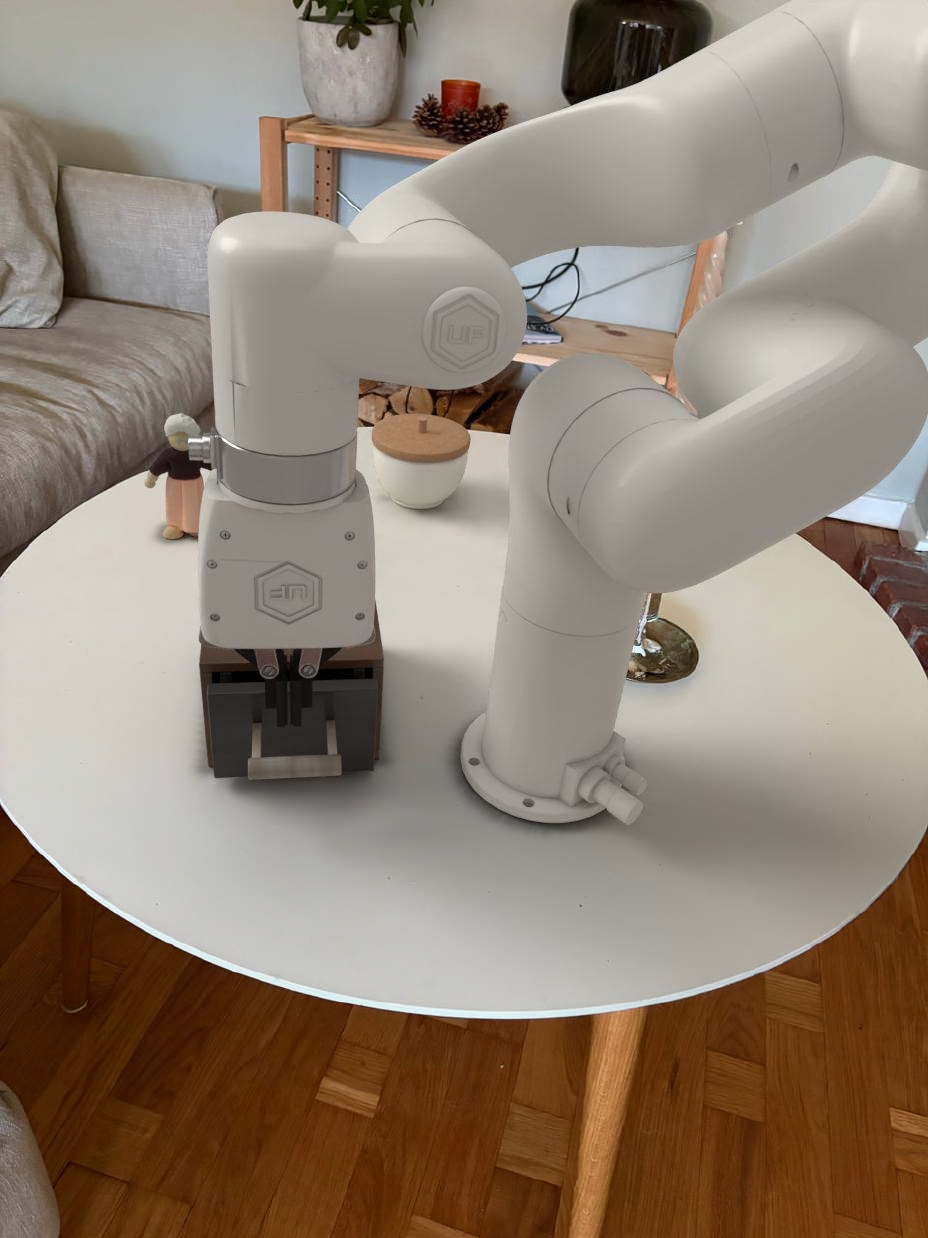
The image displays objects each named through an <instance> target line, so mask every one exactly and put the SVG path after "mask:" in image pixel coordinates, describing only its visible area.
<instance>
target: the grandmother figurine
mask: <svg viewBox="0 0 928 1238" xmlns="http://www.w3.org/2000/svg"><path fill="white" fill-rule="evenodd" d="M163 430H164V433H165V437H167V439H168V443H169V445H170V446H171V447H167V448H165V449H163V450H162V451H161V453H160V454H159V455H158V456H157V457H156V459H155V460H154V461H153V463H152V464H151V466H149V469H148V473H147V475H146V479H145V481H144V486H145V487H146V488H148V489H153V488H155V486H156V483H157V481H158V480H159V478H160V476H161V475H164V474H167V476H166V481H165V496H164V497H165V499H164V500H165V520H166V521H165V523H166V525H167V526H166V527H165V528H164V530H163V533H162V537H163V538H164V539H167V540H177V539H180V538H182V537H183V536H184V533H188V534H189V535H190V536H192V537H198V534H199V518H200V509H201V502H202V496H203V491H204V486H205V483H204V477H203V475H202V472H201V469H204V470H207V471H210V472H211V471H212V470H213V469H212V466H211V463H204V461H203V460H190V459H189V448H188V441H189V435H200V434H201V427H200V425H199V424H198V423H197V422H196V421H195V419H194V418H192V417H191V416H190V415H187V414H184V413H183V412H181V413H176V414H171V415H170V416H168V417H167V419H166V420H165V422H164V429H163ZM200 436H201V435H200Z"/></svg>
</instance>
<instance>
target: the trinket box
mask: <svg viewBox="0 0 928 1238" xmlns="http://www.w3.org/2000/svg"><path fill="white" fill-rule="evenodd" d="M471 440H472V439H471V435H470V432H469V431H468V430H467V428H466V427H464V426H463V425H462V424H460V423H458V422H456V421H454V420H452V419H450V418H446V417H443V416H440V415H434V414H429V413H428V414H427V413H401V414H395V415H391V416H387V417H385V418H382V419H381V420H378V421H377V422H376V423H375V424H374V426H373V427H372V429H371V442H372V449H371V450H372V452H371V453H372V465H373V470H374V474H375V476H376V479H377V481H378V483H379V485H380V486H381V488H382V490H383V491H384V492H385V493H387V495H388V496H390V499H391V500H392V502H394V503H395V504H396V505H398V506H401V507H403V508H407V509H412V510H429V509H433V508H437V507H439V506H440V505H442V504H443V502H444V501H445V500H446V499H447V498H449V497H450V496H452V495H453V493H454V492H455V491H456V490H457V489H458V487H459V486H460V484H461V482H462V480H463V477H464V475H465V472H466V468H467V464H468V458H469V450H470V446H471Z"/></svg>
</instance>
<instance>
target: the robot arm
mask: <svg viewBox="0 0 928 1238" xmlns="http://www.w3.org/2000/svg"><path fill="white" fill-rule="evenodd" d="M867 157H878V158H883V159H885V160H889V161H890V163H889V166H888V167H887V170H886V173H885V175H884V178H883V180H882V182H881V183H880V186H879V188H878V190H877V192H875V195H874V196H873V197H872V199H871V201H870V202H869V203H868V205H867V206H866V207H865V208H864V209H863V210H862V211H861V213H860V214H858V215H856V217H855V218H853V219H852V220H851V221H849V222H847V223H846V224H845V225H843V226H842V227H840V228H838V229H837V230H835V231H834V232H832V233H831V234H829V235H827V236H826V237H824V238H822V239H821V240H819V241H817V242H815V243H813V244H811V245H810V246H808V247H806V248H804V249H802V250H800V251H799V252H797V253H795V254H793V255H791V256H789V257H788V258H786V259H784V260H782V261H780V262H778V263H776V264H774V265H772V266H771V267H769V268H767V269H765V270H764V271H762V272H759V273H757V274H756V275H754V276H752V277H750V278H748V279H747V280H745V281H743V282H741V283H739V284H738V285H735V286H734V287H732V288H730V289H728V290H727V291H725V292H723V293H721V294H719V295H718V296H716V297H715V298H713V299H712V300H711V301H709V302H708V303H707V304H705V305H703V307H701V308H700V309H699V310H697V311H696V312H695V313H694V314H693V315H692V316H691V317H690V318H689V320H688V321H687V323H685V325H684V326H683V328H682V330H681V331H680V333H679V335H678V337H677V339H676V341H675V343H674V347H673V352H672V368H673V369H672V371H673V375H674V378H675V380H676V383H677V385H678V388H679V389H680V391H681V393H682V395H683V396H684V397H685V399H686V400H687V401H688V403H689V404H690V405H691V406H692V408H694V410H696V411H697V413H699V415H701V416H702V418H701V417H700V416H698V415H697V414H696V413H695V412H693V411H692V410H691V409H689V408H688V406H686V405H685V404H684V403H683V402H682V401H681V400H680V399H679V398H678V397H676V396H675V395H674V394H672V393H671V392H670V391H669V390H667V389H666V388H665V387H664V386H662V385H661V384H660V383H659V382H657V380H656V379H654V378H653V377H651V376H650V375H649V374H648V373H646V372H645V371H643V370H641V369H640V368H638V367H637V366H635V365H634V364H632V363H630V362H628V361H626V360H624V359H621V358H618V357H616V356H612V355H611V354H604V353H597V352H596V353H595V352H586V353H577V354H573V355H569V356H565V357H564V358H562V359H559V360H557V361H555V362H553V363H551V364H549V365H548V366H547V367H546V368H544V369H543V370H542V371H540V372H539V373H538V375H536V377H535V378H534V379H533V380H531V382H530V384H529V385H528V386H527V388H526V389H525V390H524V392H523V393H522V396H521V398H520V399H519V402H518V403H517V406H516V408H515V411H514V414H513V417H512V422H511V427H510V433H509V442H508V491H509V492H508V493H509V495H508V497H509V520H508V521H509V523H508V524H509V525H508V539H507V549H506V550H507V552H506V560H505V568H504V574H503V575H504V576H503V584H502V587H501V595H500V603H499V610H498V618H497V625H496V631H495V632H496V633H495V640H494V648H493V655H492V664H491V671H490V679H489V685H488V686H489V687H488V693H487V702H486V710H485V711H484V712H482V713H481V714H480V715H478V716H477V717H476V718H475V719H473V721H472V722H471V723H470V724H469V725H468V727H467V728H466V730H465V732H464V734H463V737H462V740H461V745H460V755H459V756H460V765H461V770H462V772H463V774H464V777H465V779H466V781H467V782H468V784H469V785H470V786H471V787H472V789H473V790H474V792H475V793H477V794H478V795H479V796H480V797H481V798H482V799H483V800H484V801H486V802H487V803H489V804H491V806H493V807H495V808H496V809H498V810H499V811H502V812H504V813H507V814H508V815H511V816H513V817H517V818H520V819H524V820H527V821H531V822H537V823H544V824H565V823H570V822H571V823H573V822H579V821H581V820H585V819H587V818H591V817H593V816H595V815H597V814H599V813H601V812H603V811H604V810H605V809H606V811H607V812H608V813H609V814H611V815H612V816H613V817H615V818H616V819H618V820H619V821H621V822H622V823H624V824H625V825H626V826H630V825H632V824H634V822H635V821H636V820H637V819H638V818H639V816H640V815H641V813H642V811H643V809H644V802H643V801H642V800H640V799H639V798H637V797H638V796H641V795H642V794H643V793H644V792H645V790H646V789H647V788H648V784H649V780H648V779H647V778H645V777H644V776H642V775H641V774H639V773H638V772H637V771H635V770H634V769H630V768H629V767H628V766H626V758H625V755H624V753H623V750H624V746H625V743H626V738H625V737H624V736H623V735H621V734H619V733H618V732H616V731H615V727H616V722H617V717H618V713H619V709H620V706H621V701H622V696H623V693H624V688H625V684H626V680H627V675H628V671H629V666H630V662H631V657H632V654H633V649H634V645H635V641H636V637H637V631H638V628H639V624H640V619H641V615H642V613H643V609H644V605H645V600H646V596H647V594H668V593H673V592H678V591H683V590H685V589H688V588H691V587H695V586H697V585H699V584H702V583H704V582H706V581H709V580H711V579H713V578H715V577H717V576H719V575H720V574H723V573H725V572H726V571H728V570H730V569H733V568H734V567H736V566H738V565H740V564H741V563H743V562H745V561H747V560H749V559H751V558H753V557H754V556H756V555H758V554H760V553H762V552H764V551H766V550H767V549H769V548H771V547H772V546H775V545H776V544H778V543H780V542H783V541H784V540H785V539H787V538H789V537H792V536H793V535H795V534H797V533H798V532H801V531H802V530H804V529H806V528H807V527H809V526H811V525H813V524H815V523H817V522H819V521H821V520H823V519H824V518H826V517H828V516H829V515H832V514H833V513H835V512H837V511H839V510H841V509H842V508H844V507H846V506H848V505H849V504H851V503H853V502H854V501H856V500H857V499H859V498H861V497H862V496H864V495H865V494H867V493H868V492H869V491H871V490H872V489H873V488H876V486H878V485H879V484H880V483H881V482H882V481H883V480H885V479H886V478H887V477H888V476H889V475H890V474H891V473H893V471H894V470H895V469H896V468H897V467H898V465H899V464H900V463H901V462H902V461H903V459H905V458H906V456H907V455H908V453H909V452H910V451H911V449H912V448H913V446H914V445H915V443H916V442H917V440H918V438H919V437H920V435H921V433H922V431H923V428H924V426H925V424H926V421H927V419H928V368H927V366H926V364H925V361H924V360H923V358H922V356H921V355H920V354H919V351H917V349H916V348H914V347H915V346H917V345H919V344H920V343H922V342H923V341H925V340H926V339H927V338H928V0H789V1H787V2H786V3H785V2H784V4H782V5H780V6H778V7H776V8H775V9H772V10H771V11H769V12H767V13H766V14H764V15H762V16H760V17H758V18H756V19H755V20H753V21H750V22H749V23H747V24H745V25H744V26H742V27H740V28H738V29H737V30H735V31H733V32H730V33H729V34H727V35H725V36H724V37H722V38H720V39H718V40H717V41H714V42H712V43H711V44H708V45H707V46H706V47H703V48H702V49H700V50H698V51H696V52H694V53H692V54H691V55H689V56H687V57H685V58H684V59H682V60H680V61H678V62H676V63H674V64H673V65H670V66H669V67H667V68H665V69H663V70H661V71H659V72H658V73H655V74H654V75H652V76H650V77H648V78H646V79H643V80H641V81H640V82H637V83H635V84H632V85H629V86H627V87H624V88H620V89H618V90H614V91H611V92H608V93H603V94H601V95H598V96H594V97H591V98H588V99H586V100H583V101H580V102H578V103H575V104H573V105H570V106H568V107H565V108H562V109H559V110H557V111H553V112H549V113H547V114H545V115H542V116H539V117H538V116H537V117H535V118H531V119H529V120H525V121H523V122H519V123H517V124H514V125H512V126H509V127H505V128H504V129H502V130H499V131H496V132H494V133H491V134H489V135H486V136H484V137H481V138H480V139H477V140H475V141H472V142H470V143H469V144H466V145H465V146H463V147H461V148H459V149H458V150H456V151H453V152H451V153H449V154H448V155H446V156H444V157H442V158H439V159H438V160H437V161H435V162H433V163H432V164H430V165H428V166H426V167H424V168H422V169H420V170H419V171H417V172H414V173H413V174H411V175H410V176H408V177H406V178H405V179H402V180H401V181H399V182H397V183H396V184H394V185H392V186H391V187H388V188H386V190H384V191H382V192H381V193H380V194H378V195H376V196H375V197H374V198H373V199H372V200H370V201H369V202H368V203H367V204H365V206H364V207H363V208H362V209H361V210H360V211H359V212H358V213H357V214H356V215H355V217H354V218H353V219H352V221H351V223H350V224H349V226H348V227H345V226H344V225H341V224H340V223H337V222H335V221H333V220H330V219H327V218H324V217H320V216H316V215H311V214H305V213H299V212H290V211H252V212H246V213H242V214H238V215H234V216H231V217H229V218H226V219H224V220H223V221H222V222H220V223H219V224H218V225H217V226H215V228H214V230H213V231H212V233H211V235H210V238H209V241H208V244H207V254H206V255H207V256H206V257H207V264H206V265H207V267H206V268H207V283H208V284H207V285H208V287H207V289H208V304H209V305H208V306H209V307H208V308H209V326H210V345H211V361H212V362H211V364H212V384H213V402H214V405H213V406H214V423H215V427H210V432H203V433H202V435H189V441H188V448H189V459H190V460H203V461H204V463H211V466H212V469H213V470H212V471H210V472H209V473H208V475H207V477H206V481H205V483H204V491H203V496H202V502H201V509H200V518H199V534H198V536H197V539H198V541H197V556H198V557H197V560H198V561H197V582H198V583H197V584H198V586H197V587H198V609H199V610H198V611H199V621H200V623H199V632H198V642H199V644H200V645H201V644H202V645H204V646H208V647H214V648H220V649H225V650H230V649H233V650H235V651H236V652H237V653H238V654H240V655H241V656H242V657H244V658H245V659H246V660H248V661H249V662H250V663H252V664H253V665H254V666H256V667H257V668H259V673H260V675H261V676H262V677H263V678H265V709H276V715H277V728H279V727H285V725H288V682H287V655H284V650H282V649H292V648H296V649H295V650H293V655H290V725H293V727H301V711H302V708H312V686H313V677H314V676H315V675H316V674H317V672H318V668H319V667H320V666H321V665H322V664H324V663H325V662H326V661H327V660H329V659H330V658H331V657H333V656H334V655H335V654H336V653H338V652H339V651H340V650H341V648H346V649H347V648H352V647H357V646H362V645H367V644H370V643H372V642H374V641H375V629H374V613H375V599H376V538H375V537H376V536H375V522H374V521H375V520H374V513H373V512H374V511H373V506H372V499H371V494H370V490H369V489H370V488H369V486H368V484H367V481H366V479H365V476H364V474H363V473H361V472H360V471H359V470H358V469H357V453H358V428H359V427H358V426H359V425H358V424H359V398H360V379H362V380H363V379H364V380H368V381H369V380H370V381H375V382H376V381H377V382H382V383H389V384H395V385H396V384H397V385H401V386H407V387H413V388H421V389H428V390H440V391H441V390H443V391H445V390H449V391H450V390H459V389H466V388H470V387H474V386H478V385H480V384H482V383H485V382H487V381H490V380H491V379H492V378H494V377H496V376H498V374H500V373H501V372H502V371H504V369H506V368H507V367H508V366H509V364H511V362H512V361H513V359H514V358H515V357H516V355H517V354H518V352H519V350H520V348H521V346H522V344H523V341H524V338H525V335H526V331H527V325H528V324H527V323H528V309H527V308H528V306H527V302H526V297H525V293H524V290H523V287H522V285H521V283H520V280H519V279H518V276H517V275H516V273H515V272H514V270H513V269H512V268H514V267H516V266H518V265H521V264H524V263H526V262H528V261H531V260H534V259H538V258H539V257H542V256H543V257H544V256H546V255H550V254H553V253H557V252H558V253H559V252H562V251H566V250H572V249H578V248H585V247H586V248H587V247H623V248H624V247H626V248H641V249H643V248H653V249H654V248H655V249H656V248H657V249H658V248H669V247H670V248H671V247H681V246H689V245H696V244H700V243H703V242H705V241H709V240H712V239H714V238H715V237H718V236H719V235H721V234H723V233H725V232H727V231H728V230H730V229H731V228H733V227H735V226H737V225H740V223H743V222H744V221H746V220H748V219H749V218H752V217H753V216H754V215H757V214H758V213H760V212H761V211H763V210H765V209H768V207H771V206H773V205H774V204H776V203H778V202H780V201H781V200H784V199H785V198H787V197H789V196H791V195H793V194H795V193H797V192H798V191H800V190H802V189H803V188H806V187H807V186H809V185H812V184H813V183H815V182H816V181H818V180H820V179H823V178H824V177H827V176H828V175H830V174H832V173H834V172H836V171H838V170H839V169H841V168H843V167H844V166H847V165H849V164H851V163H852V162H855V161H857V160H860V159H862V158H867ZM622 786H623V787H624V788H626V789H628V791H630V792H631V793H630V792H628V791H627V790H625V789H624V788H623V787H622ZM632 793H633V794H635V795H636V796H637V797H636V796H634V795H633V794H632Z"/></svg>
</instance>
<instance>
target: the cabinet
mask: <svg viewBox="0 0 928 1238" xmlns="http://www.w3.org/2000/svg"><path fill="white" fill-rule="evenodd" d="M376 600H377V599H376V598H375V613H374V629H375V641H374V642H372V643H370V644H367V645H362V646H357V647H352V648H347V649H346V648H341V650H340V651H339V652H338V653H336V654H335V655H334V656H333V657H331V658H330V659H329V660H327V661H326V662H325V663H324V664H322V665H321V666H320V667H319V668H318V669H341V668H365V679H376V680H377V687H378V694H377V716H376V738H375V760H379V759H380V754H381V753H380V752H381V751H380V750H381V730H382V713H383V712H382V710H383V693H384V692H383V689H384V673H385V671H384V669H385V667H384V666H385V655H384V648H383V642H382V634H381V628H380V620H379V614H378V608H377V601H376ZM295 649H296V648H292V649H282V650H284V655H287V670H290V655H293V650H295ZM198 668H199V681H200V692H201V702H202V704H201V705H202V713H203V714H202V715H203V725H204V737H205V747H206V757H207V766H208V767H213V759H212V747H211V735H210V724H209V712H208V700H207V689H208V684H211V683H220V672H233V671H259V668H257V667H256V666H254V665H253V664H252V663H250V662H249V661H248V660H246V659H245V658H244V657H242V656H241V655H240V654H238V653H237V652H236V651H235V650H233V649H230V650H225V649H220V648H214V647H208V646H204V645H202V644H201V643H200V652H199V659H198Z"/></svg>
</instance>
